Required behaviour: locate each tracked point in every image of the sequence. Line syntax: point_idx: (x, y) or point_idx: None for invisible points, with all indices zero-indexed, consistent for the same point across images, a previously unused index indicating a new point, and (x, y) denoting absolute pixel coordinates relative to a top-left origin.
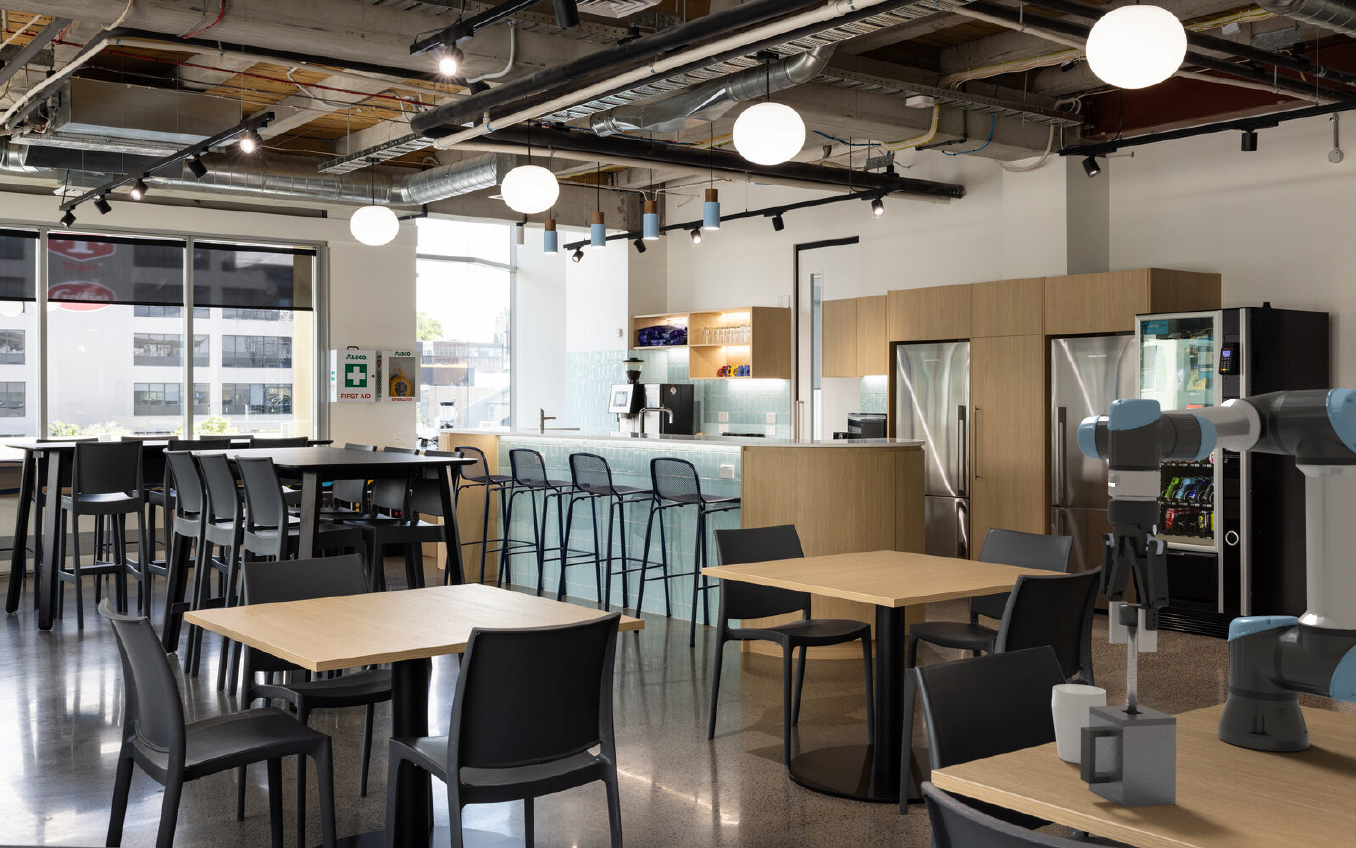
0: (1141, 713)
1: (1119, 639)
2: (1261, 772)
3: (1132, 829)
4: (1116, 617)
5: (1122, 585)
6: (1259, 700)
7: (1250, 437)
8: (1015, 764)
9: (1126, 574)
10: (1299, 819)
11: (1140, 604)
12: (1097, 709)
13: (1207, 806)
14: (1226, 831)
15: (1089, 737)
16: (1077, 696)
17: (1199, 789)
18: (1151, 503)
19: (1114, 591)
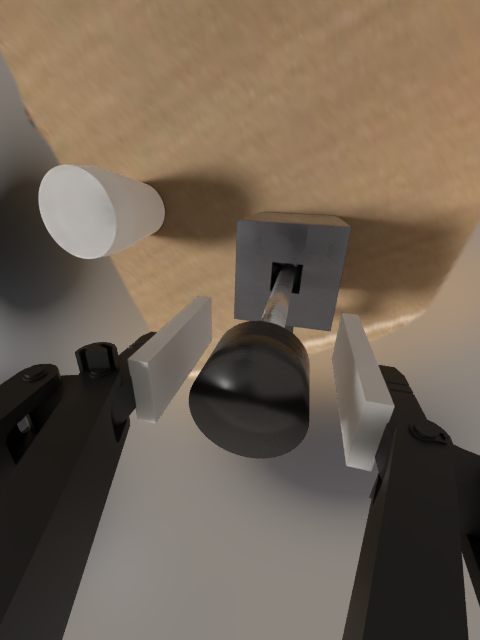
0: (293, 263)
1: (207, 324)
2: None
3: (387, 327)
4: (181, 370)
5: (98, 448)
6: None
7: None
8: (159, 296)
9: (63, 527)
10: (472, 60)
11: (231, 367)
12: (254, 319)
13: (359, 175)
14: (448, 228)
15: None
16: (115, 243)
17: (292, 126)
18: None
19: (116, 446)
